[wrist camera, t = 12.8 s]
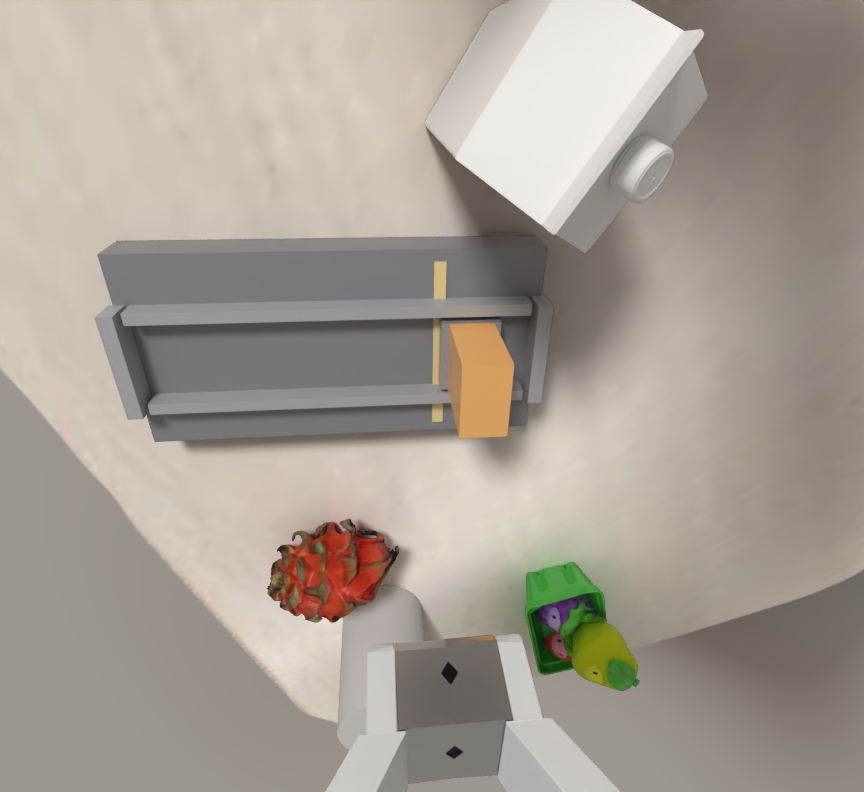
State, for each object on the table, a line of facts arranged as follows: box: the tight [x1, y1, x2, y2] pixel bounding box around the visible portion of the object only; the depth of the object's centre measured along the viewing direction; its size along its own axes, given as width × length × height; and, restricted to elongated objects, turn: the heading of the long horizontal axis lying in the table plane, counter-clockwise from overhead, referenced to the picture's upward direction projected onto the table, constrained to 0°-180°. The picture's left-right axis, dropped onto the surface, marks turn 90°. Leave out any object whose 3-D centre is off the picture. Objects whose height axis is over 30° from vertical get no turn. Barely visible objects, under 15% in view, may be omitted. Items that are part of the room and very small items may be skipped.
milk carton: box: [425, 0, 708, 253], centre depth 26 cm, size 7×7×19 cm
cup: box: [337, 586, 424, 749], centre depth 52 cm, size 8×8×12 cm
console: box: [95, 236, 554, 442], centre depth 38 cm, size 14×29×5 cm, turn 89°
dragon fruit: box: [267, 519, 399, 623], centre depth 48 cm, size 8×8×12 cm
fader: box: [439, 316, 514, 439], centre depth 35 cm, size 5×4×7 cm
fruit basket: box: [525, 562, 639, 691], centre depth 54 cm, size 11×9×11 cm
